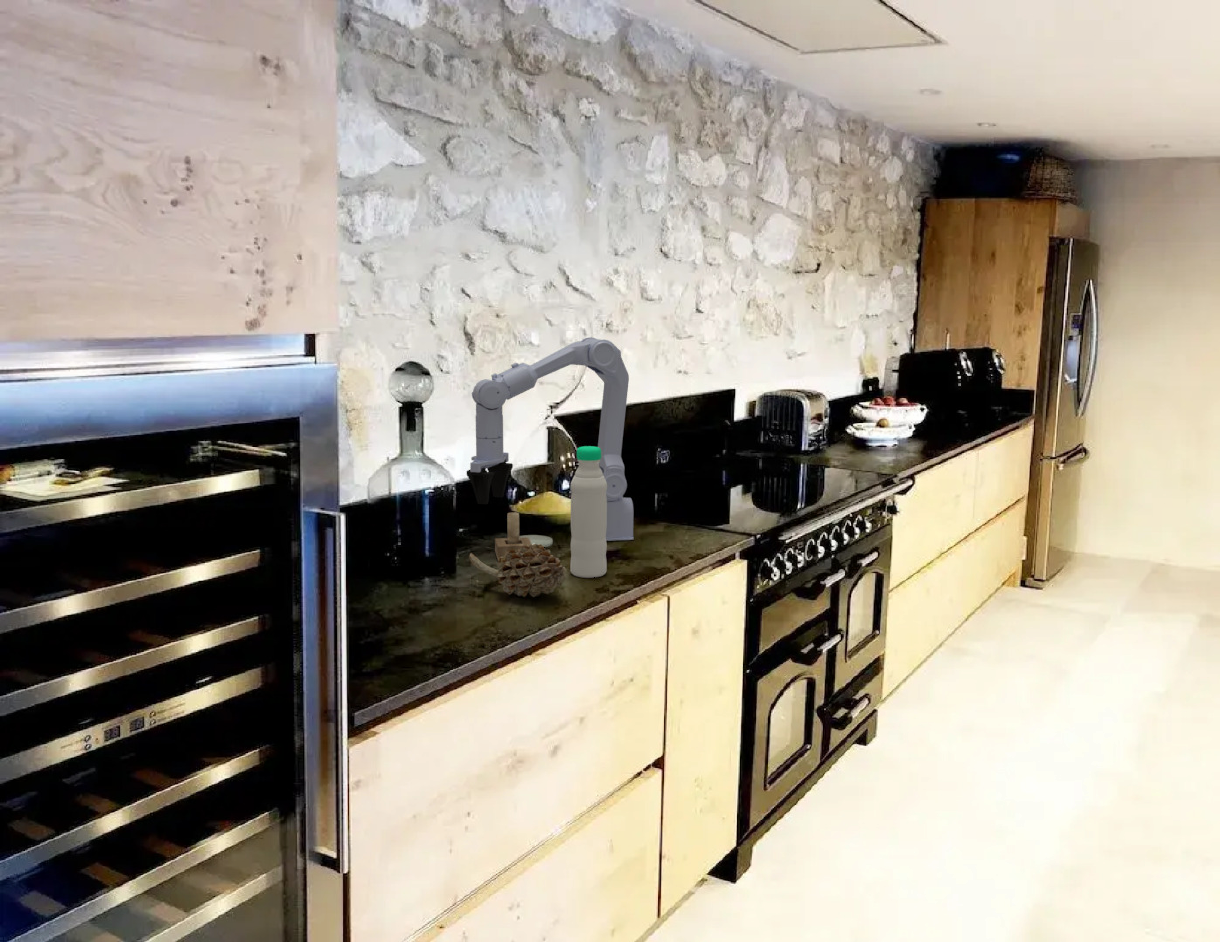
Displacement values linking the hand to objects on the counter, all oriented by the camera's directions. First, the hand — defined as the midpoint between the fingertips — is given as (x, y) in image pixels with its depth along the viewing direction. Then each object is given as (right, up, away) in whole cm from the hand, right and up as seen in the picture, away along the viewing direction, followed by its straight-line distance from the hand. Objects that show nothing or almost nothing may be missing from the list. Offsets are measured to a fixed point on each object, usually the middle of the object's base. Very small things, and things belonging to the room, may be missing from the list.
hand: (490, 500), depth 231 cm
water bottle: (+21, -14, -19) cm, 32 cm away
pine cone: (+8, -16, -32) cm, 37 cm away
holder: (+5, -11, -6) cm, 14 cm away
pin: (+5, -11, -6) cm, 14 cm away
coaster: (+8, -10, +5) cm, 14 cm away
